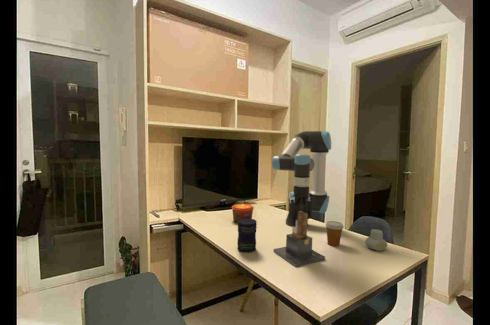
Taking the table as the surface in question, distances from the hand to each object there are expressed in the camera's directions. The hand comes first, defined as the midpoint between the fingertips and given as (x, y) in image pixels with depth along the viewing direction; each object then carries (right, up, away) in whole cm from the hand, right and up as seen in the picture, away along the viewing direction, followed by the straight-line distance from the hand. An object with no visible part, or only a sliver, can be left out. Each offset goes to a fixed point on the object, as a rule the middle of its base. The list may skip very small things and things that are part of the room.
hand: (299, 231), depth 129 cm
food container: (-29, -8, +57) cm, 64 cm away
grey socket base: (0, -12, +1) cm, 12 cm away
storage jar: (-26, -11, +8) cm, 30 cm away
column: (0, -10, +1) cm, 10 cm away
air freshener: (+44, -13, +13) cm, 48 cm away
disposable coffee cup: (+23, -12, +17) cm, 31 cm away
